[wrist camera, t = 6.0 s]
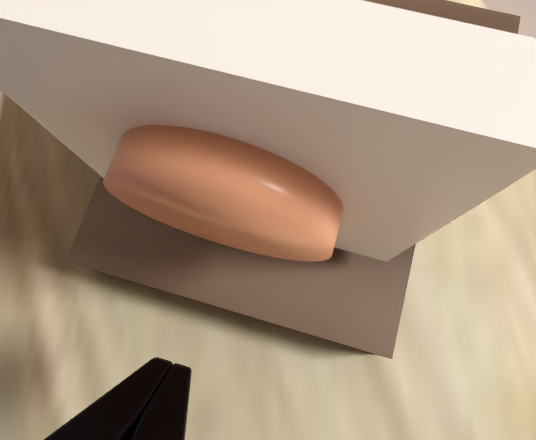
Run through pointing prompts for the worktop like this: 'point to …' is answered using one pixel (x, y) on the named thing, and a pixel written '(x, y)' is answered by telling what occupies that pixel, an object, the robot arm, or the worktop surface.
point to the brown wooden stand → (265, 267)
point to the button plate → (279, 114)
